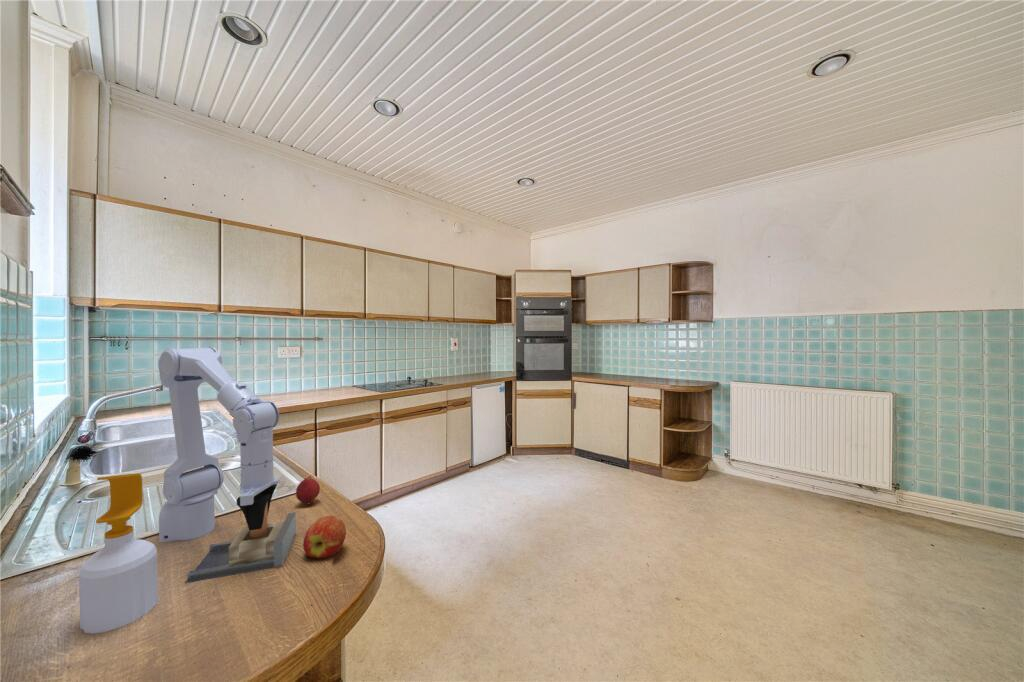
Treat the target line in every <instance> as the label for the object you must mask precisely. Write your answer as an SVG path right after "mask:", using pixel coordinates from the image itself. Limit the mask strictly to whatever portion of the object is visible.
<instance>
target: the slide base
mask: <svg viewBox="0 0 1024 682" xmlns="http://www.w3.org/2000/svg"><path fill="white" fill-rule="evenodd" d="M283 522H284V523H283V525H282V527H281V529H280V531H279V533H278V535H277V537H276V539H275V541H274V543H273V545H274V557H272V558H266V559H260V560H254V561H248V562H242V563H236V564H230V565H229V546H230V545H231V543H232V542H233V541H225V542H219V543H212V544H209V548H208V549H209V551H208V552H207V554H206V555H205V556H204V557H203V559H202V560H201V561H200V562H199V564H198V565H197V566H196V568H195V569H194V570H189V571H188V573H187V579H186V581H185V582H184V584H188V583H189V584H190V583H195V582H200V581H206V580H213V579H218V578H223V577H228V576H235V575H241V574H245V573H252V572H257V571H264V570H269V569H276V568H280V567H284V564H285V561H286V559H287V557H288V554H289V552H290V549H291V547H292V545H293V541H294V539H295V538H296V535H297V513H296V512H289V513H287V515H286V518H285V519H284V521H283Z"/></svg>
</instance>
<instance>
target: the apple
mask: <svg viewBox="0 0 1024 682" xmlns="http://www.w3.org/2000/svg"><path fill="white" fill-rule="evenodd" d="M344 522H345V521H343V519H341V518H340V517H338V516H336V515H326V516H323V517H320V518H319V519H317V520H315V521H314V522H313V523H311V525H310V527H309V528H308V529H307V531H306V533H305V535H304V538H303V541H302V542H303V544H302V545H303V550H304V552H305V555H307V556H308V557H310V558H311V559H315V560H316V559H318V560H321V559H322V560H323V559H327V558H330V557H332V556H334V555H335V554H337V552H339V551H340V550H341V547H342V546H343V545H344V542H345V540H346V535H347V529H346V528H347V527H346V525H345V523H344Z"/></svg>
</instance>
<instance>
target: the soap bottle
mask: <svg viewBox="0 0 1024 682" xmlns="http://www.w3.org/2000/svg"><path fill="white" fill-rule="evenodd" d="M104 480H105V481H106V480H107V481H109V488H110V489H109V492H110V493H109V494H110V498H109V499H110V507H109V509H108V510H107V511H106V512H105V513H104V514H102V515H100V516H99V517H98V518H97V519H95V522H96V524H105V523H106V525H107V526H111V529H108V530H107V531H106V532H104V547H102V548H101V549H100V550H98V551H96V552H95V553H94V554H92V555H91V556H90V557H89V558H88V559H87V560H86V561H84V562H83V564H82V565H81V568H80V569H79V573H78V589H79V590H78V592H79V593H78V595H79V598H78V599H79V601H78V602H79V628H80V630H82V631H83V633H84V634H93V635H94V634H100V633H106V632H107V633H108V632H109V631H113V630H117V629H119V628H122V627H124V626H126V625H129V624H131V623H133V622H135V621H136V620H138V619H139V618H141V617H143V616H145V615H146V614H148V613H149V612H151V610H153V609H154V607H155V605H156V603H158V601H159V599H158V597H159V595H158V557H157V555H158V554H157V552H158V551H157V549H158V548H157V547H156V546H155V544H154V543H152V542H150V541H148V540H146V539H145V540H144V539H137V538H134V526H132V525H131V524H130V525H129V524H128V525H127V522H128V521H129V520H130V519H131V517H132V516H133V515H135V513H137V512H138V511H139V510H140V509H141V507H142V505H143V501H144V500H143V475H142V474H141V473H138V472H137V473H130V474H129V473H127V474H119V475H118V474H117V475H109V476H100V477H97V478H96V481H104Z"/></svg>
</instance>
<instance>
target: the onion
mask: <svg viewBox="0 0 1024 682" xmlns="http://www.w3.org/2000/svg"><path fill="white" fill-rule="evenodd" d="M320 488H321V486H320V484H319V483H318V481H316V479H314V478H312V475H310V474H308V475H306V476H305V478H304V479H303V480H301V481H300V483H298V485H297V487H296V489H295V497H296V499H297V500H298V501H299V502H301V503H303V504H306V505H309V504H308V503H310V504H312V502H313V501H314V500H316V499H317V497H319V496H318V495H319V494H320V491H321V489H320Z"/></svg>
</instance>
